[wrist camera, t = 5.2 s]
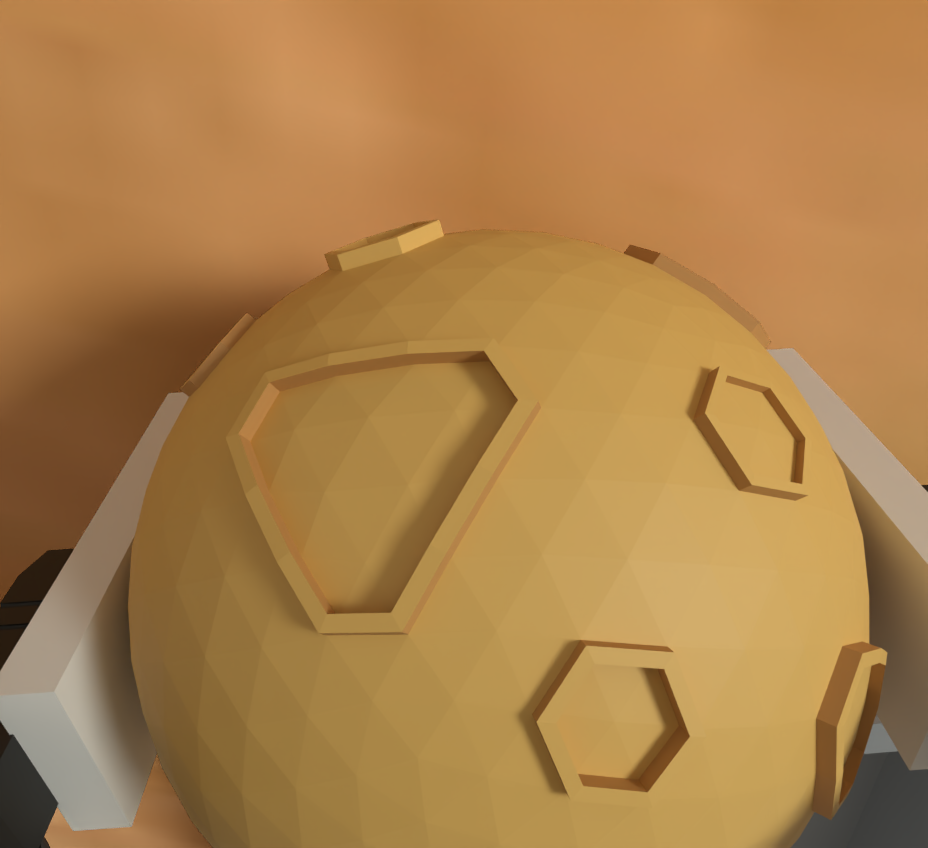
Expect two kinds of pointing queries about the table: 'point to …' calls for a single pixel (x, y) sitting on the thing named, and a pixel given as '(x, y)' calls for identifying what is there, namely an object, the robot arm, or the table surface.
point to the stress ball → (501, 563)
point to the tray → (876, 804)
